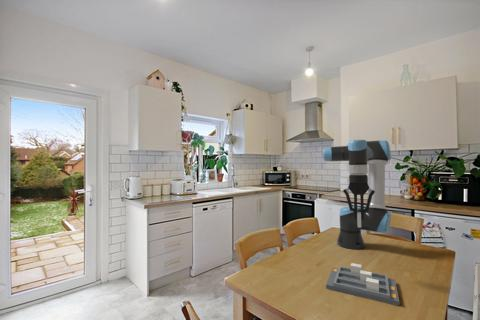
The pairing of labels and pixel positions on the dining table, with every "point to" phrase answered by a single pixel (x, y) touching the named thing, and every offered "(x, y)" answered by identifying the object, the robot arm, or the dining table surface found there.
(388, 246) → the dining table surface
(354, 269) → the tab
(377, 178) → the robot arm
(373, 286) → the tab
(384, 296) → the switch board
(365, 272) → the tab
